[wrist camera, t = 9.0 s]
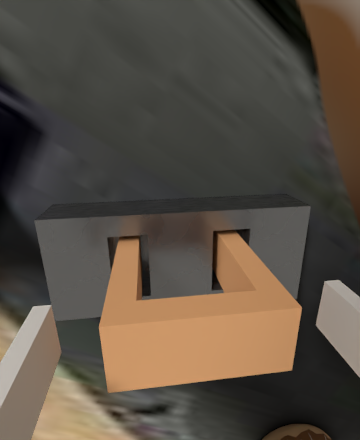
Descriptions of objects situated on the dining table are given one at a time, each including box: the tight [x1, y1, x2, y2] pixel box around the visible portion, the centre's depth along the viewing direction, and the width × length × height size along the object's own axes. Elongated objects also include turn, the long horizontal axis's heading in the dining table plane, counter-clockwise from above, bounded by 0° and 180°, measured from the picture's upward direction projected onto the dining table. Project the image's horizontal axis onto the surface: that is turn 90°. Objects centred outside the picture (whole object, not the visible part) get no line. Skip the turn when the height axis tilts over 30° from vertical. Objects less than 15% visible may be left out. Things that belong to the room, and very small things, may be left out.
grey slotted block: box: [34, 194, 311, 321], centre depth 20 cm, size 8×18×4 cm, turn 91°
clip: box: [99, 230, 302, 393], centre depth 17 cm, size 4×8×10 cm, turn 91°
